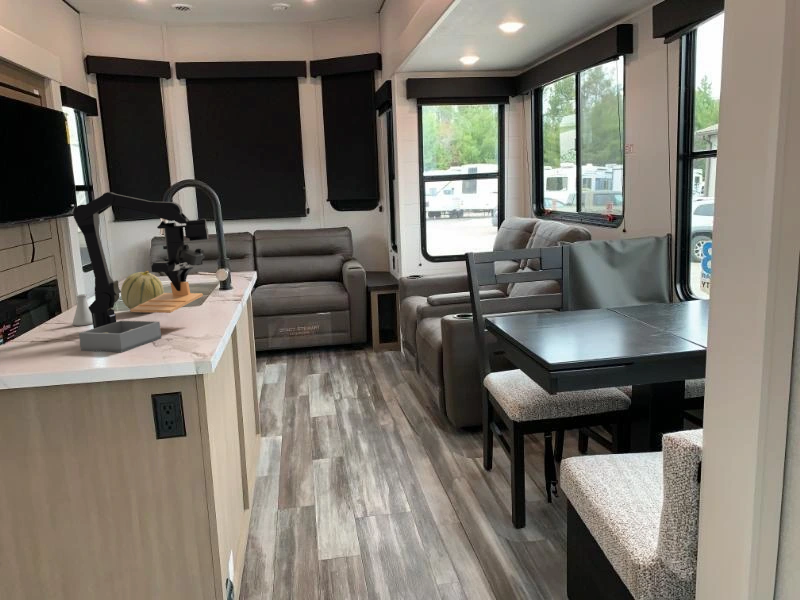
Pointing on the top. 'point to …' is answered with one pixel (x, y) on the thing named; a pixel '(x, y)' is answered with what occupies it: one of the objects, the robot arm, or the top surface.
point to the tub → (120, 336)
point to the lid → (169, 300)
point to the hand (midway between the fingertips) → (180, 290)
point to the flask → (82, 312)
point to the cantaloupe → (140, 288)
